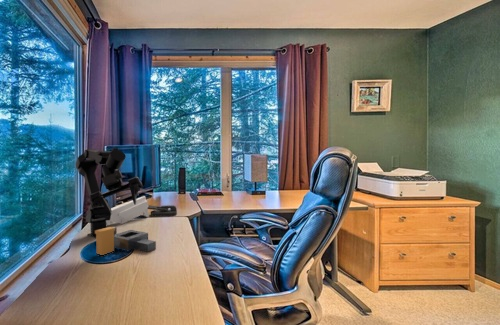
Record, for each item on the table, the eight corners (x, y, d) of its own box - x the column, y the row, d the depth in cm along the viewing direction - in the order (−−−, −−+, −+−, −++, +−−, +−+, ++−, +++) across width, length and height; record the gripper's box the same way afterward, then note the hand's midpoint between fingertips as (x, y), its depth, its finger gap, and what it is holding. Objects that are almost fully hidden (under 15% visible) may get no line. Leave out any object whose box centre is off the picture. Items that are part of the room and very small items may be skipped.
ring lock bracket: (90, 243, 115) (90, 228, 115) (113, 236, 125) (113, 222, 125) (140, 255, 103) (140, 239, 103) (162, 246, 113) (162, 231, 113)
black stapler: (134, 203, 168) (177, 202, 173) (134, 214, 169) (177, 212, 174) (130, 206, 160) (176, 204, 165) (130, 217, 160) (176, 216, 165)
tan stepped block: (95, 255, 102) (94, 230, 102) (109, 250, 108) (109, 226, 108) (100, 256, 101) (100, 231, 101) (115, 251, 107) (115, 227, 106)
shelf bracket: (151, 217, 161) (147, 196, 158) (110, 237, 140) (105, 213, 138) (145, 216, 164) (141, 195, 161) (104, 235, 143) (99, 212, 141)
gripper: (79, 176, 105) (88, 212, 99) (129, 157, 111) (141, 190, 104) (91, 188, 115) (100, 222, 108) (137, 171, 120) (148, 202, 114)
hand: (122, 209), depth 108 cm, fingers open, 9 cm apart
